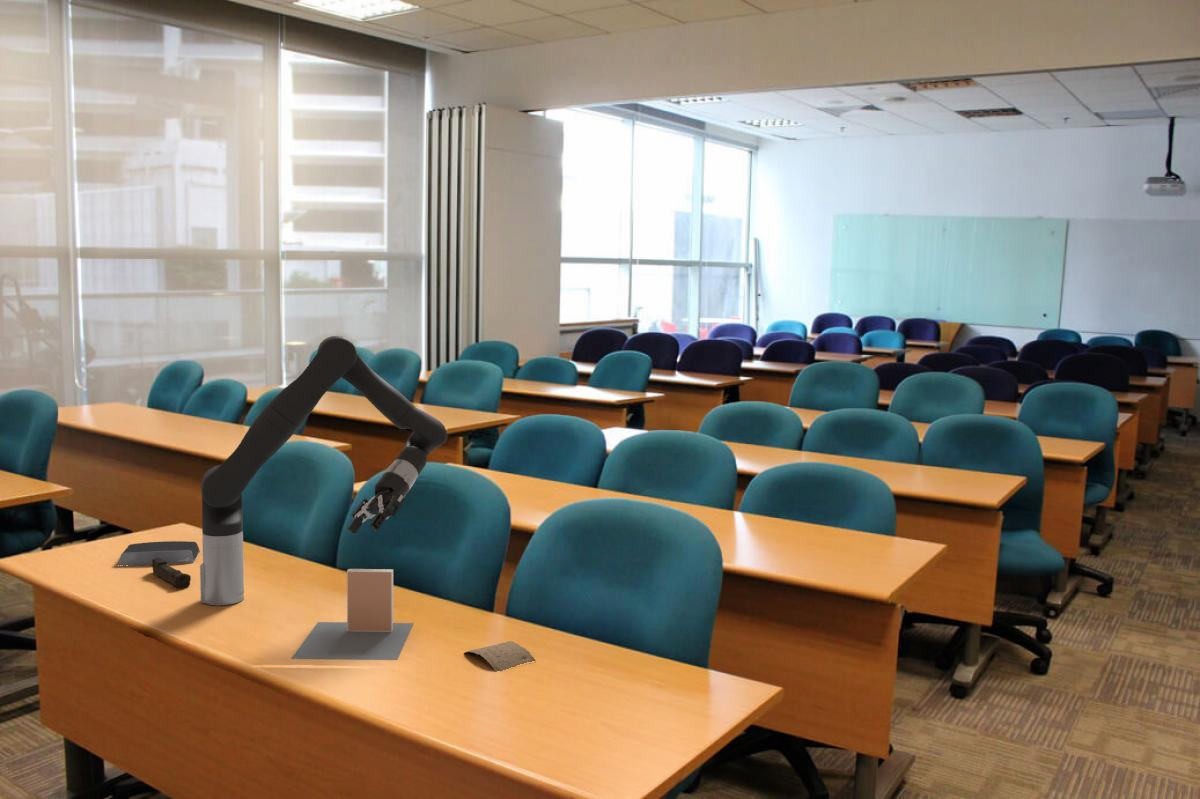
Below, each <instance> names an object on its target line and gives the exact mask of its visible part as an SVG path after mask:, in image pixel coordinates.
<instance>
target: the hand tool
mask: <svg viewBox="0 0 1200 799" xmlns="http://www.w3.org/2000/svg"><path fill="white" fill-rule="evenodd" d="M151 568H152V572H153V575H154V576H155V577H156V578H157V577H158V578H159V577H161V579H163V580H165V581H167V582H168V583H170V584H172V585H173V586H174V588H175V589H176V590H183V589H187V588H189V586H190V585H191V580H192V579H191V577H192V576H191V575H190V574H188V573H183V572H181V570H178V569H176V568H174V567H172V566H171V565H167V562H166V561H164V560H163V559H160V558H154V559H153V560H152V565H151ZM158 578H157V579H158Z"/></svg>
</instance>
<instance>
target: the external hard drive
mask: <svg viewBox="0 0 1200 799" xmlns="http://www.w3.org/2000/svg"><path fill="white" fill-rule="evenodd" d="M200 552H201V551H200V548H199V544H197V542H196V541H188V540H187V541H184V540H183V541H182V540H180V541H178V540H169V541H149V542H140V543H139V542H137V543H131V544H129V545H128V546H127V547H126V548H125V550H123V552H122V553H121V554H120V557H119V558H118V563H117V566H118V565H119V566H118V567H121V566H120V565H123V566H122V567H144V566H143V565H146V566H145V567H147V565H151V566H152V560H153V559H154V558H160V559H163V560H164V561H166V562H167V564H172V565H179V564H178V563H187V564H193V563H192V562H194V563H195V562H196V559H197V558H196V557H198V556H199V554H200ZM198 553H199V554H198ZM197 555H198V556H197ZM175 563H176V564H175ZM126 565H128V566H126ZM135 565H136V566H135ZM140 565H141V566H140Z"/></svg>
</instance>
